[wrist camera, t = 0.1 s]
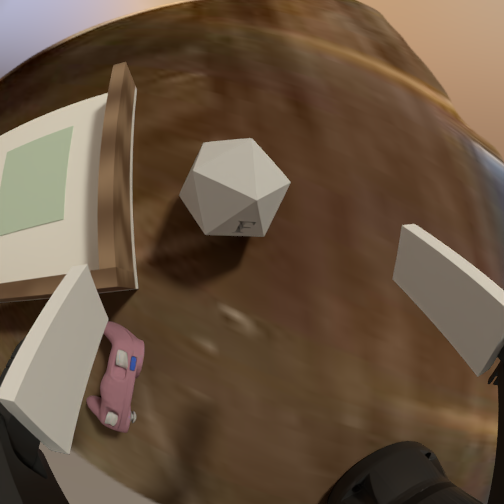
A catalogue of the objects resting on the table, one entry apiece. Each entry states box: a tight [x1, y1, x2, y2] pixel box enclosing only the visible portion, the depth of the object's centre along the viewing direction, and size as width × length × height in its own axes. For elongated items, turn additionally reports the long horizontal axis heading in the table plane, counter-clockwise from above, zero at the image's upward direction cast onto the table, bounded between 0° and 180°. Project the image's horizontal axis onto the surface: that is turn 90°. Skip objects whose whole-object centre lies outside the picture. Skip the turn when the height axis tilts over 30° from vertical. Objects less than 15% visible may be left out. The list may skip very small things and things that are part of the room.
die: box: [179, 138, 291, 237], centre depth 23 cm, size 8×9×10 cm
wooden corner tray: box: [0, 62, 138, 303], centre depth 23 cm, size 24×24×5 cm
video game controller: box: [87, 321, 144, 433], centre depth 21 cm, size 10×5×7 cm, turn 164°
